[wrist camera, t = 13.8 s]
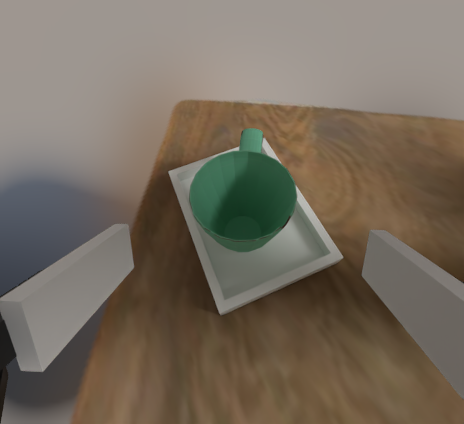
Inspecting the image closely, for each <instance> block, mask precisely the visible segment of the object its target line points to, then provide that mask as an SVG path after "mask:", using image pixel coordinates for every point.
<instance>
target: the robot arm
mask: <svg viewBox="0 0 464 424" xmlns="http://www.w3.org/2000/svg"><path fill="white" fill-rule="evenodd" d="M133 268H134V262H133V255H132V248H131V240H130V233H129V226H128V224H114V225H113V226H111V227H110V228H108V229H106V230H105V231H103V232H101V233H100V234H98V235H97V236H95V237H94V238H92V239H91V240H89V241H88V242H86V243H84V244H83V245H81V246H80V247H78V248H77V249H75V250H74V251H72V252H71V253H69V254H68V255H66V256H64V257H63V258H61V259H60V260H58V261H57V262H55V263H54V264H52V265H51V266H49V267H48V268H46V269H43V270H41V271H39V272H37V273H36V274H34V275H33V276H31V277H30V278H28V280H25V281H23V282H22V283H20V284H19V285H18V286H17V287H14V288H12V289H11V290H9V291H8V292H6V293H5V294H3V295H2V296H0V423H1V417H2V411H3V405H4V398H5V392H6V386H7V380H8V372H7V369H6V365H7V364H9V363H10V361H12V360H13V359H14V358H15V357H16V358H17V361H18V364H19V367H20V370H21V371H36V372H43V371H44V370H45V369H46V367H47V366H48V365H49V364H50V363H51V362H52V361H53V360H54V358H55V357H56V356H57V355H58V354H59V353H60V351H61V350H62V349H63V348H64V347H65V346H66V344H68V343H69V341H70V340H71V339H72V338H73V337H74V336H75V335H76V333H77V332H78V331H79V330H80V329H81V328H82V327H83V325H84V324H85V323H86V322H87V321H88V320H89V318H90V317H91V316H92V315H93V314H94V313H95V312H96V311H97V309H98V308H99V307H100V306H101V305H102V304H103V303H104V301H105V300H106V299H107V298H108V297H109V296H110V295H111V293H112V292H113V291H114V290H115V289H116V288H117V287H118V285H119V284H120V283H121V282H122V281H123V280H124V279H125V277H126V276H127V275H128V274H129V273H130V272H131V271H132V269H133ZM361 276H362V277H363V278H364V279H365V281H366V282H367V283H368V284H369V285H370V287H371V288H372V289H373V290H374V292H375V293H376V294H377V295H378V296H379V298H380V299H381V300H382V301H383V303H384V304H385V305H386V306H387V307H388V309H389V310H390V311H391V312H392V314H393V315H394V316H395V317H396V318H397V320H398V321H399V322H400V323H401V325H402V326H403V327H404V328H405V329H406V331H407V332H408V333H409V334H410V335H411V337H412V338H413V339H414V340H415V342H416V343H417V344H418V345H419V346H420V348H421V349H422V350H423V351H424V353H425V354H426V355H427V356H428V357H429V359H430V360H431V361H432V362H433V364H434V365H435V366H436V367H437V368H438V370H439V371H440V372H441V373H442V375H443V376H444V377H445V378H446V379H447V381H448V382H449V383H450V384H451V386H452V387H453V388H454V389H455V390H456V392H457V393H458V394H459V395H460V396H461V398H462V399H464V282H462V281H460V280H458V279H456V278H455V277H453V276H452V275H450V274H449V273H447V272H446V271H444V270H443V269H441V268H440V267H438V266H437V265H436V264H434V263H433V262H431V261H430V260H428V259H427V258H425V257H424V256H422V255H421V254H419V253H418V252H416V251H415V250H413V249H412V248H410V247H409V246H408V245H406V244H405V243H403V242H402V241H400V240H399V239H397V238H396V237H394V236H393V235H391V234H390V233H388V232H387V231H385V230H370V233H369V238H368V243H367V249H366V254H365V259H364V265H363V270H362V275H361Z"/></svg>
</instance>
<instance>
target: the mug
mask: <svg viewBox="0 0 464 424" xmlns="http://www.w3.org/2000/svg"><path fill="white" fill-rule="evenodd" d="M262 143H263V132H262V131H260V130H258V129H253V128H252V129H245V130H243V131H242V134H241V140H240V147H239V151H231V152H227V153H224V154H221V155H218V156H216V157H215V158H213V159H211V160H210V161H208V162H206V163H205V164H204V165H203V166H202V167H201V168H200V170H199V171H198V172H197V173H196V174H195V177H194V179H193V181H192V183H191V185H190V193H189V202H190V206H191V209H192V212H193V215H194V218H195V219H196V221H197V222H198V223H199V225H200V226H201V227H202V229H203V230H204V231H205V232H206V233H207V234H208V235H209V236H211V237H212V238H213V239H214V240H215V241H216V242H217V243H219V244H220V245H222V246H224V247H225V248H227V249H229V250H233V251H236V252H250V251H253V250H256V249H258V248H261V247H263V246H264V245H265V244H266V243H267V242H269V241H270V240H271V239H272V238H273V237H275V236H276V235H277V234H278V233H279V232H280V231H281V230H282V229H283V228H284V227H285V226H286V225H287V223H288V222H289V220H290V218H291V217H292V215H293V213H294V211H295V206H296V201H297V191H296V185H295V181H294V180H293V178H292V176H291V174H290V173H289V171H288V169H286V168H285V167H284V166H283V165H282V164H281V163H280V162H279V161H278V160H276V159H274V158H272V157H270V156H268V155H266V154H264V153H261V151H262Z"/></svg>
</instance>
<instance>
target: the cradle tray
mask: <svg viewBox="0 0 464 424" xmlns="http://www.w3.org/2000/svg"><path fill="white" fill-rule="evenodd" d="M231 151H239V147H237V148H234V149H231V150H228V151H225V152H222V153H220V154H217V155H214V156H211V157H208V158H205V159H202V160H199V161H197V162H194V163H191V164H188V165H185V166H182V167H179V168H176V169H174V170H171V171H168V173H169V175H170V178H171V181H172V184H173V187H174V189H175V192H176V195H177V198H178V200H179V203H180V206H181V209H182V211H183V214H184V217H185V220H186V222H187V225H188V228H189V231H190V234H191V236H192V239H193V242H194V245H195V247H196V250H197V253H198V256H199V258H200V261H201V264H202V267H203V270H204V272H205V275H206V278H207V281H208V283H209V286H210V289H211V292H212V294H213V297H214V300H215V303H216V305H217V308H218V311H219V314H220V315H221V316H222V315H224V314H226V313H228V312H231V311H233V310H235V309H237V308H239V307H242V306H244V305H246V304H248V303H250V302H253V301H255V300H257V299H259V298H261V297H264V296H266V295H268V294H270V293H272V292H275V291H277V290H279V289H281V288H283V287H286V286H288V285H290V284H292V283H294V282H297V281H299V280H301V279H303V278H305V277H308V276H310V275H312V274H314V273H317V272H319V271H321V270H323V269H325V268H328V267H330V266H332V265H334V264H336V263H337V262H339V261H340V260H341V259H343V258H344V257H343V256H342V254H341V253H340V251H339V250H338V248H337V247H336V245H335V244H334V242H333V241H332V239H331V238H330V236H329V235H328V233H327V232H326V230H325V229H324V227H323V226H322V224H321V223H320V221H319V220H318V218H317V217H316V215H315V214H314V212H313V210H312V209H311V207H310V206H309V204H308V203H307V201H306V200H305V198H304V197H303V195H302V194H301V192H300V191H299V189H298V188H297V186H296V191H297V201H296V206H295V211H294V213H293V215H292V217H291V218H290V220H289V222H288V223H287V225H286V226H285V227H284V228H283V229H282V230H281V231H280V232H279V233H278V234H277V235H276V236H275V237H273V238H272V239H271V240H270V241H269V242H267V243H266V244H265V245H264V246H263V247H261V248H258V249H256V250H253V251H250V252H236V251H233V250H229V249H227V248H225V247H224V246H222V245H220V244H219V243H217V242H216V241H215V240H214V239H213V238H212V237H211V236H209V235H208V234H207V233H206V232H205V231H204V230H203V229H202V227H201V226H200V225H199V223H198V222H197V221H196V219H195V218H194V215H193V212H192V209H191V206H190V202H189V193H190V185H191V183H192V181H193V179H194V177H195V174H196V173H197V172H198V171H199V170H200V168H201V167H202V166H203V165H204V164H205V163H206V162H208V161H210V160H211V159H213V158H215V157H216V156H218V155H221V154H224V153H227V152H231ZM261 153H264V154H266V155H268V156H270V157H272V158H274V159H276V160H278V161H279V159H278V158H277V156H276V155H275V153H274V152H273V150H272V149H271V147H270V146H269V144H268V142H267V141H266V139H265V138H263V143H262V151H261ZM279 162H280V161H279ZM280 163H281V162H280Z"/></svg>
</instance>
